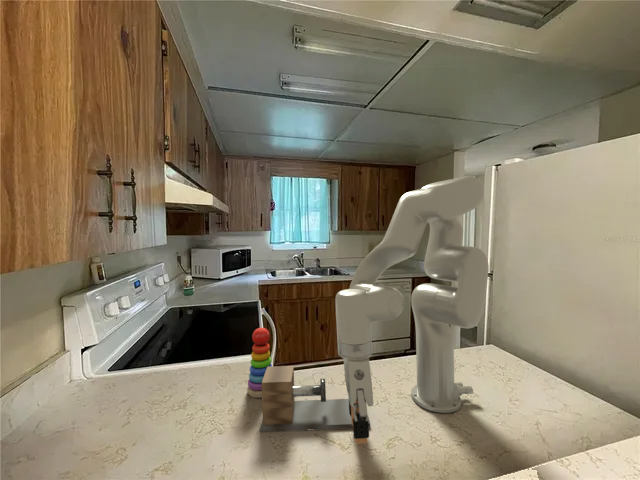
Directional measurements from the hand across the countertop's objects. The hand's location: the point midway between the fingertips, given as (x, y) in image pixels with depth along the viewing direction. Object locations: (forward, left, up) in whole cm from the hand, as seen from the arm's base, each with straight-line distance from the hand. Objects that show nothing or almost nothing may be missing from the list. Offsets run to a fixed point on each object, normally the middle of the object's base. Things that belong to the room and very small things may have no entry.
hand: (358, 424), depth 61 cm
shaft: (+15, -9, +1) cm, 17 cm away
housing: (+10, -9, -3) cm, 13 cm away
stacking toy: (+26, -21, -4) cm, 33 cm away
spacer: (0, 0, -2) cm, 2 cm away
